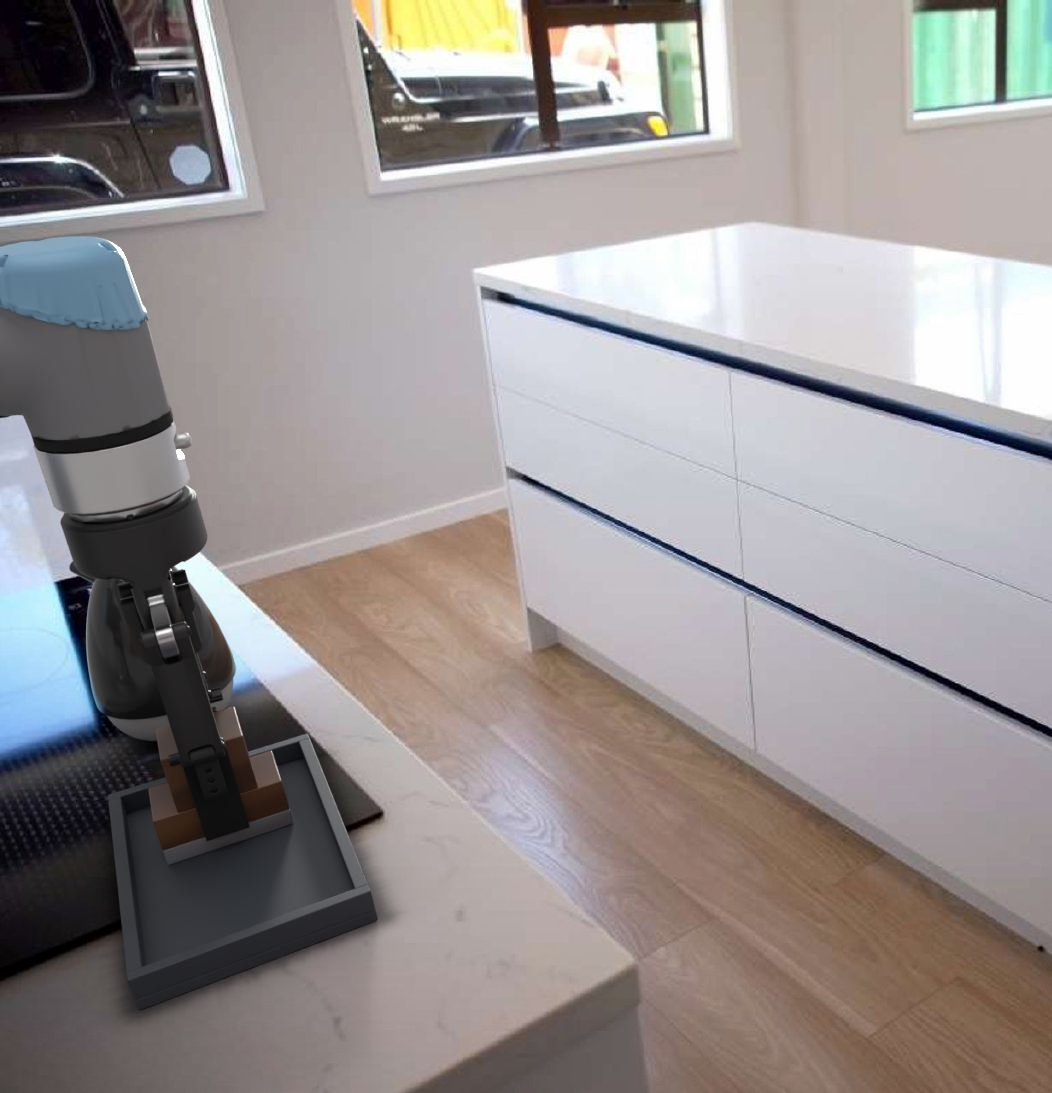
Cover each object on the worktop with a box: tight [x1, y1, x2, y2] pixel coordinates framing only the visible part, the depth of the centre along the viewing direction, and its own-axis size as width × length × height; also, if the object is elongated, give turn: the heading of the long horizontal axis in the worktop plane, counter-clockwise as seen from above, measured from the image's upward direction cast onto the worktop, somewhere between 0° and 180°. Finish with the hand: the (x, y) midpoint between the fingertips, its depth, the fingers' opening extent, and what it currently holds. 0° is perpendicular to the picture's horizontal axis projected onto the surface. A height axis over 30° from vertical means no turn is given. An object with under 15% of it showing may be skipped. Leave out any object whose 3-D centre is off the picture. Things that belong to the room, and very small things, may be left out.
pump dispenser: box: [68, 560, 237, 742], centre depth 98 cm, size 10×10×15 cm
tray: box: [107, 733, 379, 1011], centre depth 83 cm, size 22×14×2 cm, turn 31°
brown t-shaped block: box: [148, 706, 294, 865], centre depth 85 cm, size 4×8×8 cm, turn 120°
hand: (223, 811), depth 86 cm, fingers closed on brown t-shaped block, 4 cm apart
